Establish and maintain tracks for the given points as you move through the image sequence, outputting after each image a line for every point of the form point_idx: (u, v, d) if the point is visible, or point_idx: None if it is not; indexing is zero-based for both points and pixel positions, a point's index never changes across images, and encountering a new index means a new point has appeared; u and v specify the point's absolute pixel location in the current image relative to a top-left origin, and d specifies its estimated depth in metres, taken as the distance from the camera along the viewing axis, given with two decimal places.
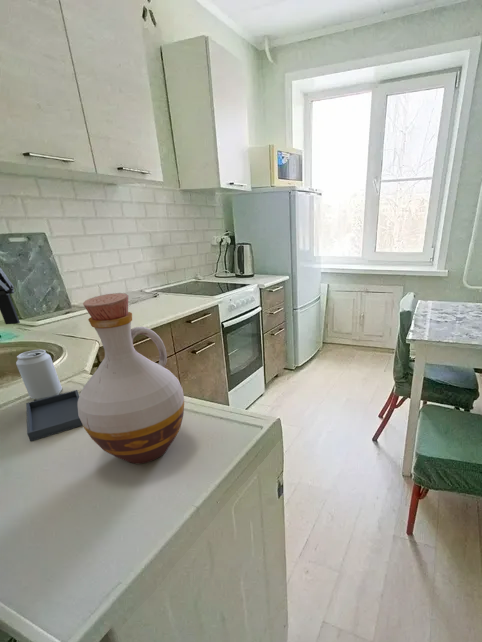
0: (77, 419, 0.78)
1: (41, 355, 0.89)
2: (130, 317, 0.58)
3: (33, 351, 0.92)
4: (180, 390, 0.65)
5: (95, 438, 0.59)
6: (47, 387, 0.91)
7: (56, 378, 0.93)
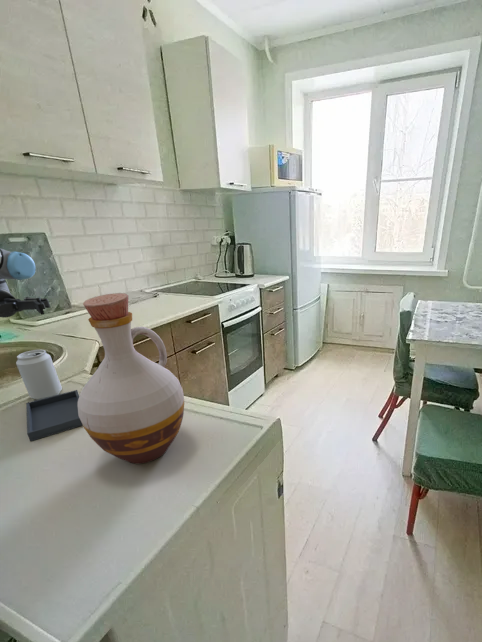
0: (77, 419, 0.78)
1: (41, 355, 0.89)
2: (130, 317, 0.58)
3: (33, 351, 0.92)
4: (180, 390, 0.65)
5: (95, 438, 0.59)
6: (47, 387, 0.91)
7: (56, 378, 0.93)
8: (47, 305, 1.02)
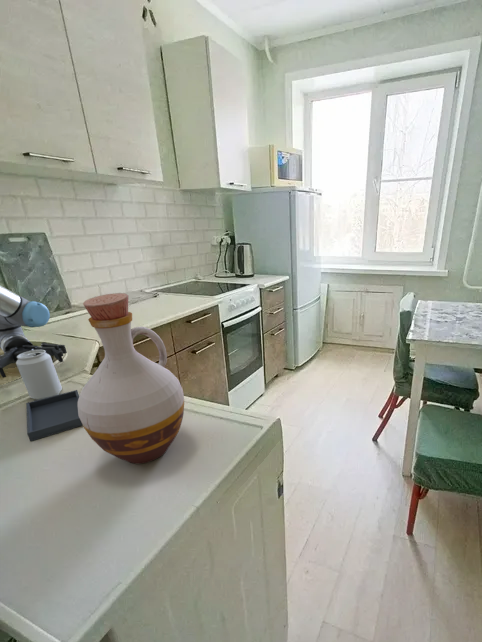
0: (77, 419, 0.78)
1: (41, 355, 0.89)
2: (130, 317, 0.58)
3: (33, 351, 0.92)
4: (180, 390, 0.65)
5: (95, 438, 0.59)
6: (47, 387, 0.91)
7: (56, 378, 0.93)
8: (64, 351, 1.07)
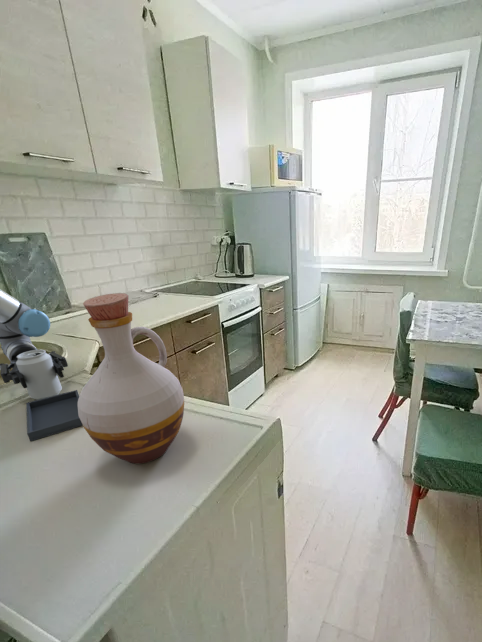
0: (77, 419, 0.78)
1: (41, 355, 0.89)
2: (130, 317, 0.58)
3: (33, 351, 0.92)
4: (180, 390, 0.65)
5: (95, 438, 0.59)
6: (47, 387, 0.91)
7: (56, 378, 0.93)
8: (64, 364, 0.97)
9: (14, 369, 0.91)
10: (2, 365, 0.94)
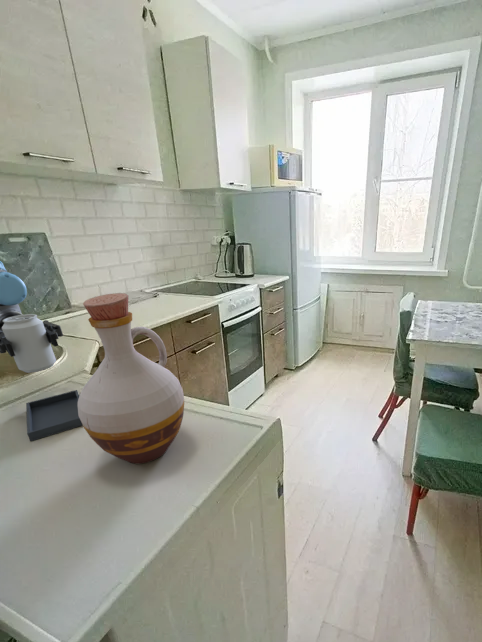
0: (77, 419, 0.78)
1: (31, 319, 0.76)
2: (130, 317, 0.58)
3: (22, 316, 0.79)
4: (180, 390, 0.65)
5: (95, 438, 0.59)
6: (39, 357, 0.78)
7: (49, 348, 0.80)
8: (58, 334, 0.85)
9: (0, 336, 0.78)
10: None
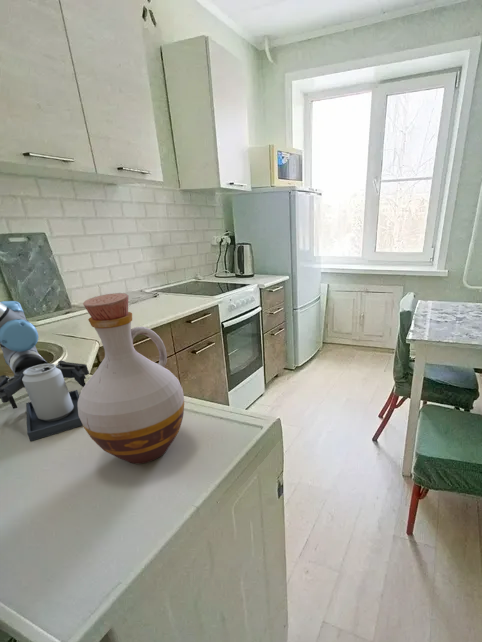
0: (77, 419, 0.78)
1: (51, 370, 0.78)
2: (130, 317, 0.58)
3: (41, 365, 0.80)
4: (180, 390, 0.65)
5: (95, 438, 0.59)
6: (57, 407, 0.80)
7: (67, 396, 0.82)
8: (86, 372, 0.89)
9: (5, 385, 0.79)
10: (2, 377, 0.84)
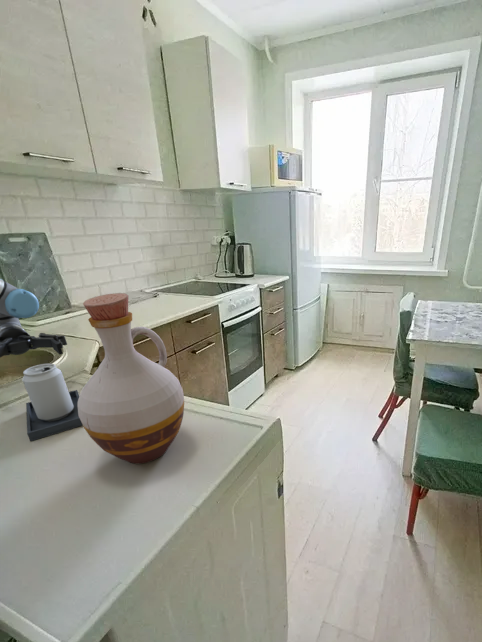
0: (77, 419, 0.78)
1: (51, 370, 0.78)
2: (130, 317, 0.58)
3: (41, 365, 0.81)
4: (180, 390, 0.65)
5: (95, 438, 0.59)
6: (57, 407, 0.80)
7: (67, 396, 0.82)
8: (64, 342, 0.96)
9: None
10: None
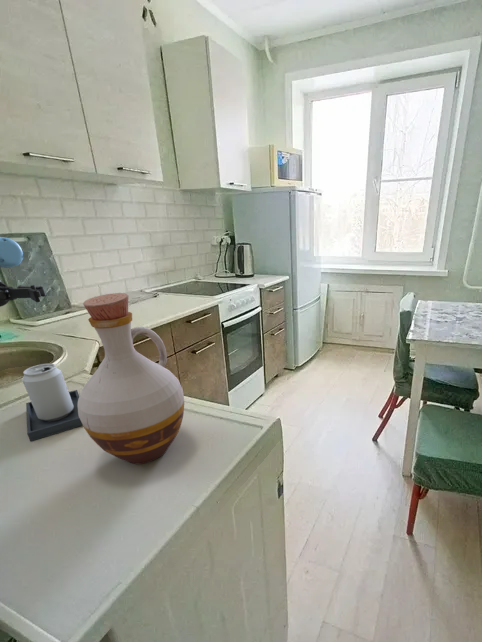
0: (77, 419, 0.78)
1: (51, 370, 0.78)
2: (130, 317, 0.58)
3: (41, 365, 0.81)
4: (180, 390, 0.65)
5: (95, 438, 0.59)
6: (57, 407, 0.80)
7: (67, 396, 0.82)
8: (42, 293, 0.95)
9: None
10: None
